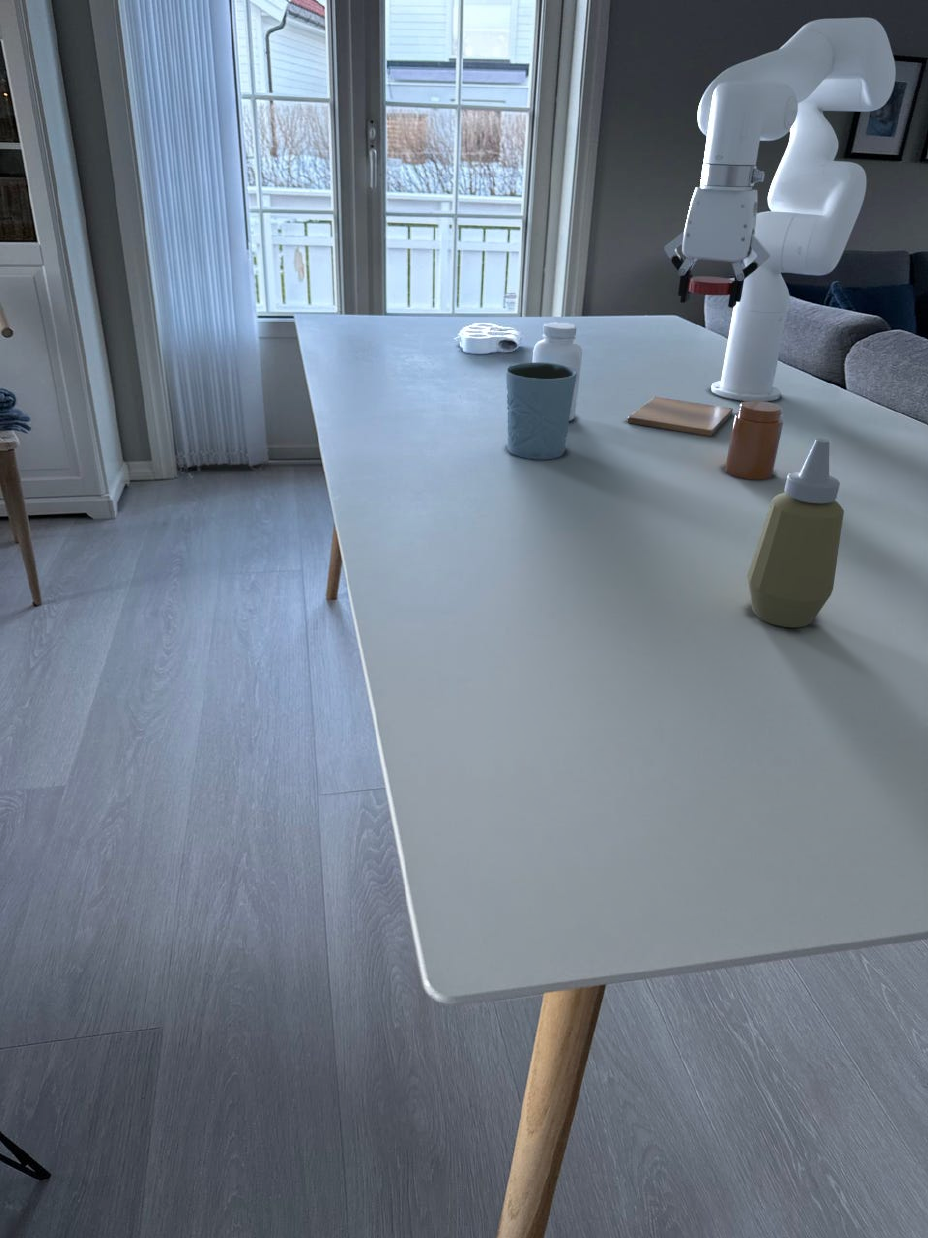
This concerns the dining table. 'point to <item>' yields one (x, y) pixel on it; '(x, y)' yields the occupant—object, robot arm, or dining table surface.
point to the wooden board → (681, 416)
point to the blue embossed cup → (539, 408)
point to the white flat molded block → (488, 338)
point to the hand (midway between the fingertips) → (708, 302)
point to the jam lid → (709, 285)
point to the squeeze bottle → (798, 546)
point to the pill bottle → (560, 351)
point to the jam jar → (754, 440)
